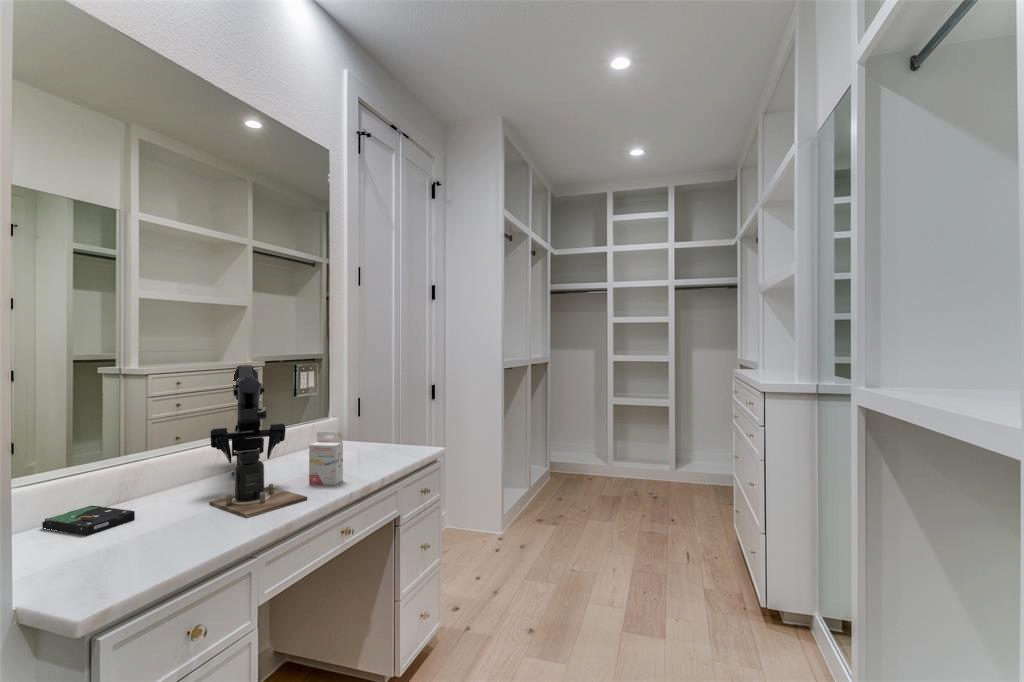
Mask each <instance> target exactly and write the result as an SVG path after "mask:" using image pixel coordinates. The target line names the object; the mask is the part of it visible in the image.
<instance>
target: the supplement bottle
mask: <svg viewBox="0 0 1024 682" xmlns="http://www.w3.org/2000/svg"><path fill="white" fill-rule="evenodd" d="M260 455H261V454H260V452H259V451H247V452H242V453H239V461H240V463H239V464H237V463H236V465H235V466H234V471H235V474H234V495H235V500H236V501H238V502H248V501H254V500H258V499H260V493H261V492H264V487H265V464H264V463H263V461H261V460H260V458H261V456H260Z"/></svg>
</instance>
